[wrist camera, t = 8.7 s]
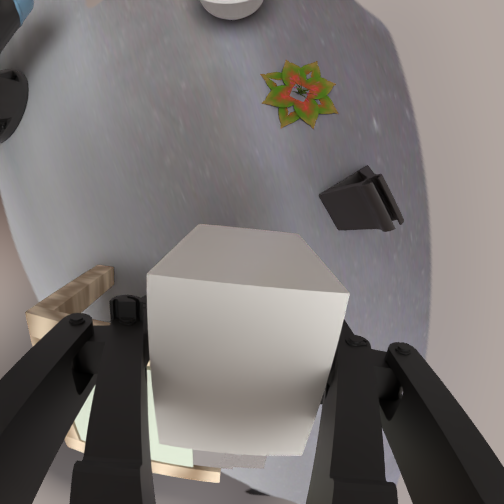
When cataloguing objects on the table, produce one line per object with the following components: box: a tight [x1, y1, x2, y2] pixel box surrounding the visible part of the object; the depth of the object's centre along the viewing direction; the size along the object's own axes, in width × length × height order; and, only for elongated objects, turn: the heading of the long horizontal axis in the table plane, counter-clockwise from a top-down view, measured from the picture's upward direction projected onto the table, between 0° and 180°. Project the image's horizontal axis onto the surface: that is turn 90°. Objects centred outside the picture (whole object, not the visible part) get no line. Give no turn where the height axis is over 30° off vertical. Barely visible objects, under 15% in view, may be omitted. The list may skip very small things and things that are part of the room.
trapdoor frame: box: [25, 265, 221, 483], centre depth 38 cm, size 23×23×20 cm
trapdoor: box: [75, 366, 267, 469], centre depth 31 cm, size 25×16×6 cm, turn 84°
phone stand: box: [319, 165, 404, 232], centre depth 36 cm, size 9×6×12 cm, turn 122°
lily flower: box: [260, 60, 339, 129], centre depth 37 cm, size 12×12×5 cm
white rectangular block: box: [147, 224, 350, 456], centre depth 13 cm, size 6×7×9 cm
